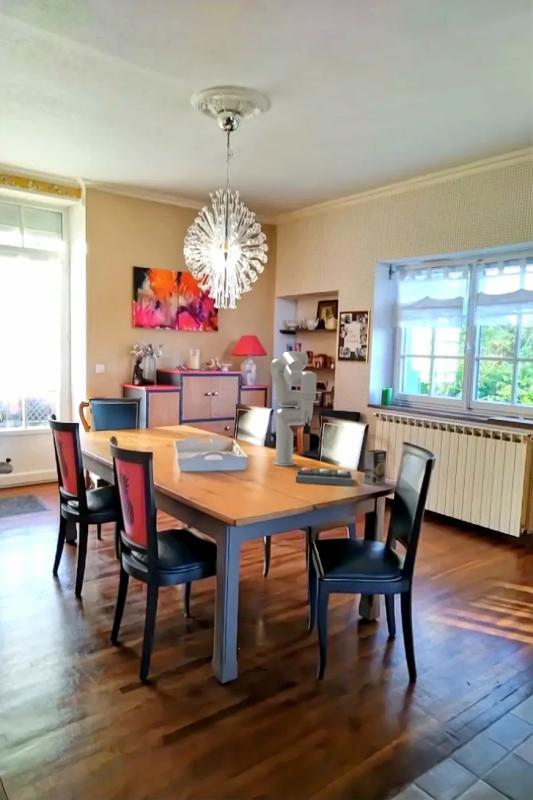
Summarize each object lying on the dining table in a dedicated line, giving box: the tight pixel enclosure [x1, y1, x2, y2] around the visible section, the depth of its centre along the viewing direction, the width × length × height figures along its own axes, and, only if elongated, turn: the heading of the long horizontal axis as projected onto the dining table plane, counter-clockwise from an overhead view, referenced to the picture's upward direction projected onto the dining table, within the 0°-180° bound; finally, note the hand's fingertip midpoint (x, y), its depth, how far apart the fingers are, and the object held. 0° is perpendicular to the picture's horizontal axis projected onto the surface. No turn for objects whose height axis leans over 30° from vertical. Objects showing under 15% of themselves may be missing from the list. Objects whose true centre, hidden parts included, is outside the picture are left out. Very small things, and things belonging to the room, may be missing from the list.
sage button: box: [318, 468, 330, 473], centre depth 265 cm, size 5×5×2 cm
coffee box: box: [363, 449, 387, 486], centre depth 263 cm, size 9×6×16 cm
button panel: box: [295, 468, 353, 486], centre depth 265 cm, size 14×27×4 cm, turn 81°
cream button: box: [336, 469, 348, 475], centre depth 264 cm, size 5×5×2 cm
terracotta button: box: [300, 467, 312, 472], centre depth 266 cm, size 5×5×2 cm
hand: (306, 433), depth 265 cm, fingers closed
